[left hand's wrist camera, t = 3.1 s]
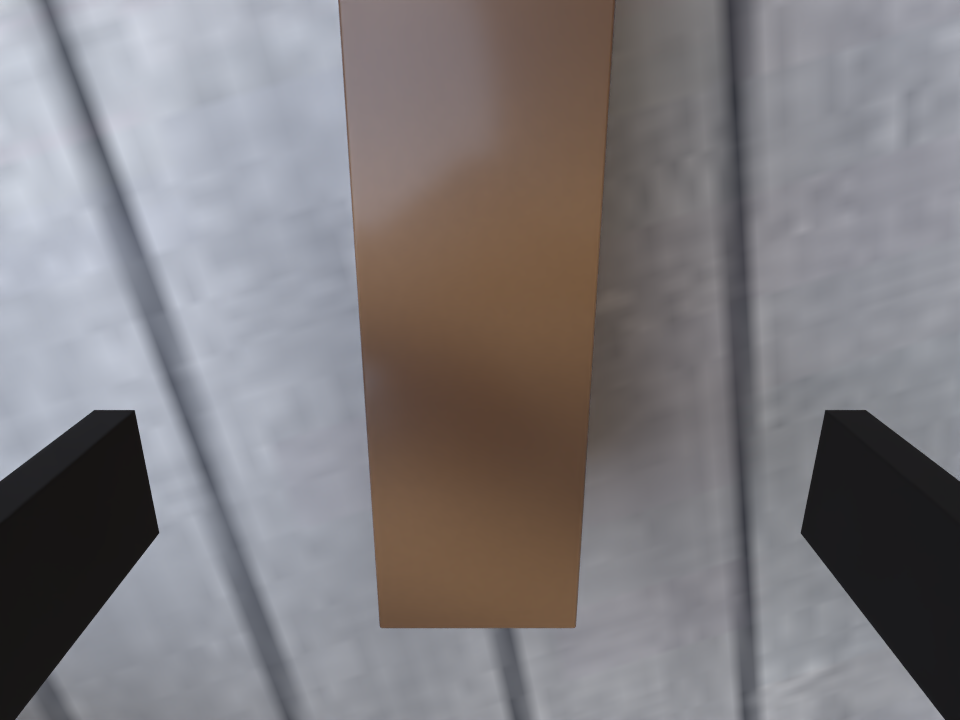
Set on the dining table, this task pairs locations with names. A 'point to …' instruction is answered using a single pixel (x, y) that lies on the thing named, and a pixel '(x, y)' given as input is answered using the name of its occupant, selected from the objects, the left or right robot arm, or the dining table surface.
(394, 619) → the post
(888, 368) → the dining table surface
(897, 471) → the left robot arm
